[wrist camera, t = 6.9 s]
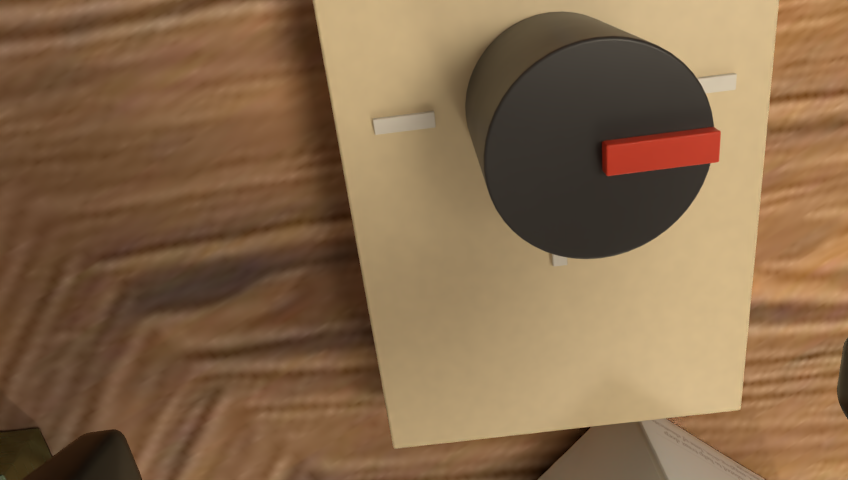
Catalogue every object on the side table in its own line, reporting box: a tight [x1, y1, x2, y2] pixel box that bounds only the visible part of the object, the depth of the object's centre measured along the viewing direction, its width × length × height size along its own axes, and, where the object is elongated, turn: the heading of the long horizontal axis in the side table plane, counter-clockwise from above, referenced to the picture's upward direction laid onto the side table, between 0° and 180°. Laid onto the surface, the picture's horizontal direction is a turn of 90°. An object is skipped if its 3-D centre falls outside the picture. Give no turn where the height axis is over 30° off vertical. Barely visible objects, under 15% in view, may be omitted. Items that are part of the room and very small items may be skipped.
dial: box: [465, 11, 721, 259], centre depth 13 cm, size 4×4×4 cm
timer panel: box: [313, 0, 779, 449], centre depth 18 cm, size 14×10×3 cm
